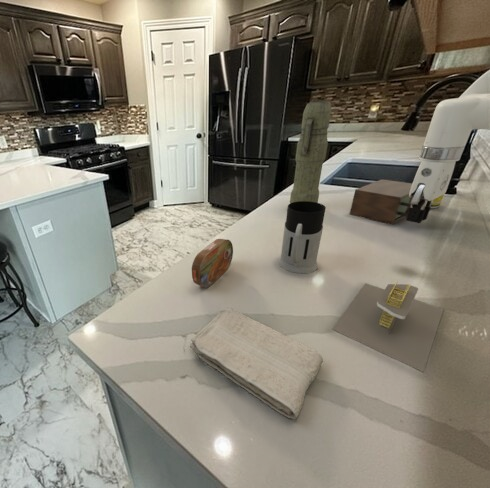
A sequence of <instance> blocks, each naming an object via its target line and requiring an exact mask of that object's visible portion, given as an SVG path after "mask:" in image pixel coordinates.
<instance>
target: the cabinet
mask: <svg viewBox="0 0 490 488" xmlns="http://www.w3.org/2000/svg"><path fill="white" fill-rule="evenodd" d="M412 183H413V182H406V181H405V182H404V181H397V180H390V179H379V180H376V181H374V182H370V183H368V184H365V185H363V186H360V187H359V188H358V187H357V188H356V189H355V190H354V194H353V198H352V202H351V206H350V211H349V215H351V216H355V217H359V218H363V219H366V220H367V219H368V220H372V221H375V222H380V223H383V224H386V225H387V224H388V225H391V226H392V225H394V224H396V223H398V222H400V221H402V220H403V219H405V218H407V217H406V216H400V217H398V218H396V215H397V212H398V209H399V205H400V202H401V200H402V199H404V198H406V197H408V196H409V193H410V189H411V186H412ZM412 199H413V198H411V197H410V200H409V203H411V200H412ZM409 210H410V207H408V206H407V209H406V211H405V213H409ZM395 218H396V219H395Z"/></svg>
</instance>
